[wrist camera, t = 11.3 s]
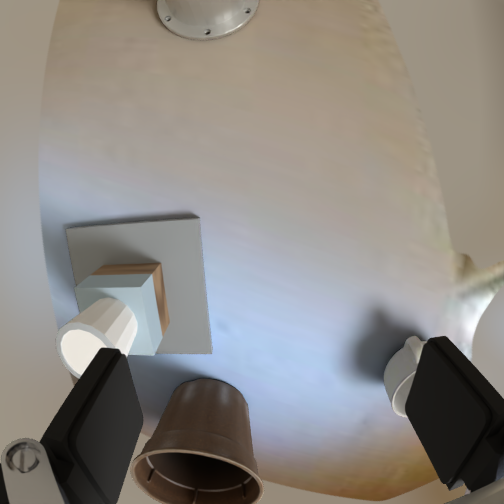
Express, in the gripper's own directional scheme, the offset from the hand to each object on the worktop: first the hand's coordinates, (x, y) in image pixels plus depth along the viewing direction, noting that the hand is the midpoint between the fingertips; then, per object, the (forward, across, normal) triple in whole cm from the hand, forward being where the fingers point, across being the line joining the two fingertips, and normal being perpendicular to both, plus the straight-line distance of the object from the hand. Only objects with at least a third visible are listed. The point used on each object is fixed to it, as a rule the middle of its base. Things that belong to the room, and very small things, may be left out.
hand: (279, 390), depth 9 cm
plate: (+30, +15, +9) cm, 35 cm away
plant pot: (+30, +8, +29) cm, 42 cm away
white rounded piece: (+21, +15, +9) cm, 27 cm away
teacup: (+30, -23, +21) cm, 43 cm away
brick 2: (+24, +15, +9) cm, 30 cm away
